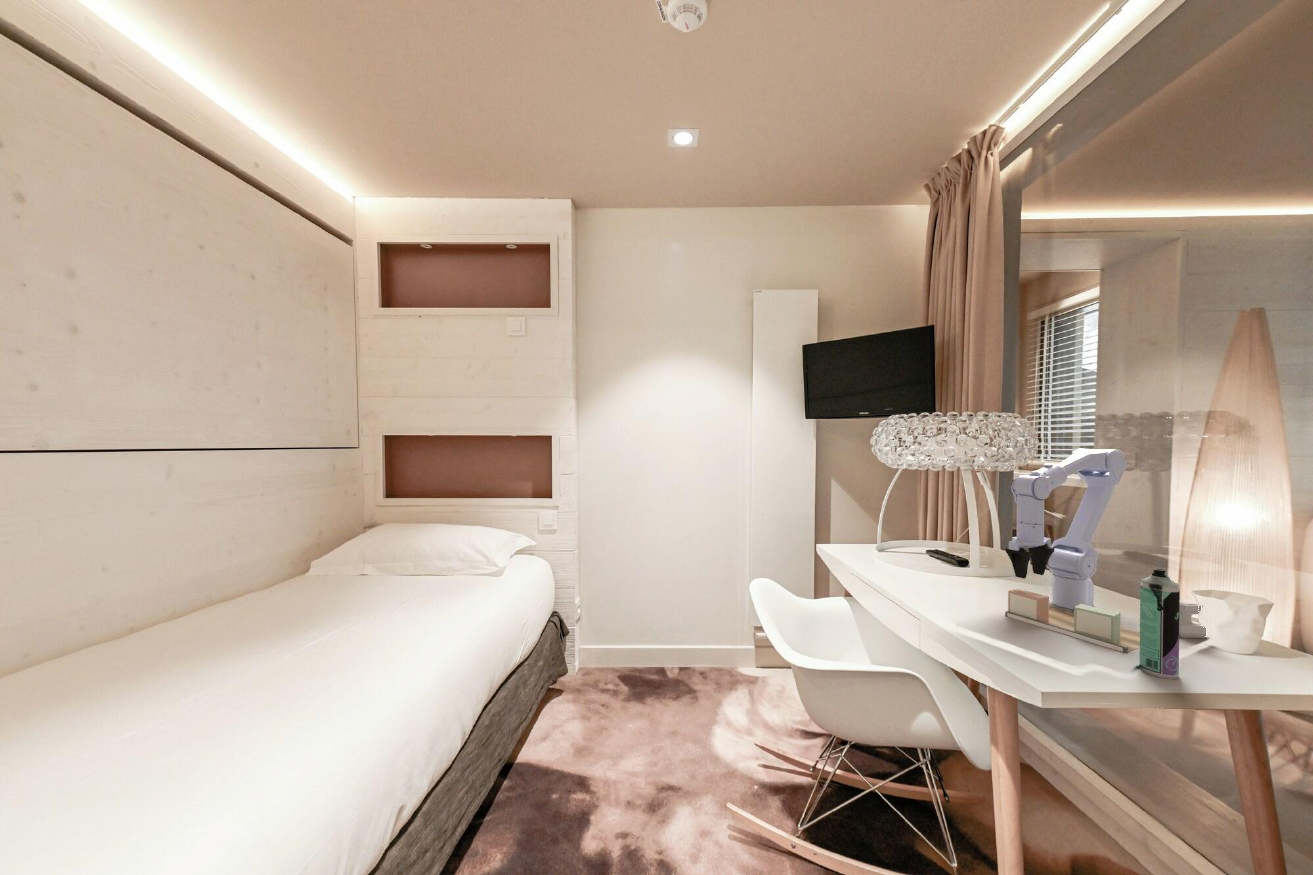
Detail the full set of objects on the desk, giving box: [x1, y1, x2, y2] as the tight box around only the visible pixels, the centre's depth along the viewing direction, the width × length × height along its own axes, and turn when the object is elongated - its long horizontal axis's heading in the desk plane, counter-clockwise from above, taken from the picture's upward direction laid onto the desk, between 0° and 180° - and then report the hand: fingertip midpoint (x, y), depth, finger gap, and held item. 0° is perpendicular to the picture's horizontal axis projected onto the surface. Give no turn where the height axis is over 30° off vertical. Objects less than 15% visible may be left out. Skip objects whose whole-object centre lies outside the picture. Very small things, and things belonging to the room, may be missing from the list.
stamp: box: [1179, 599, 1206, 639], centre depth 118 cm, size 9×7×8 cm
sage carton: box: [1073, 604, 1121, 643], centre depth 115 cm, size 4×7×6 cm, turn 34°
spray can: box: [1139, 568, 1181, 680], centre depth 101 cm, size 6×6×20 cm
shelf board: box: [1047, 606, 1140, 654], centre depth 122 cm, size 17×24×1 cm
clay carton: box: [1007, 588, 1050, 622], centre depth 127 cm, size 4×7×6 cm, turn 25°
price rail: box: [1004, 610, 1129, 653], centre depth 118 cm, size 1×24×2 cm, turn 25°
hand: (1029, 575), depth 133 cm, fingers open, 7 cm apart
